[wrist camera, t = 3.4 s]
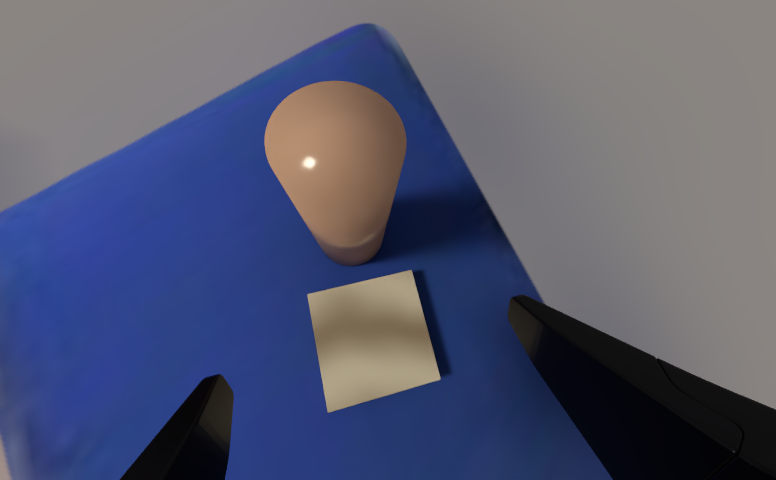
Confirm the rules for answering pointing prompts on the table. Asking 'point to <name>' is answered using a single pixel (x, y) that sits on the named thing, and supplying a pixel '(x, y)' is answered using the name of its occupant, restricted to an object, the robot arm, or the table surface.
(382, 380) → the coaster
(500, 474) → the table surface
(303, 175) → the tan rounded cylinder
